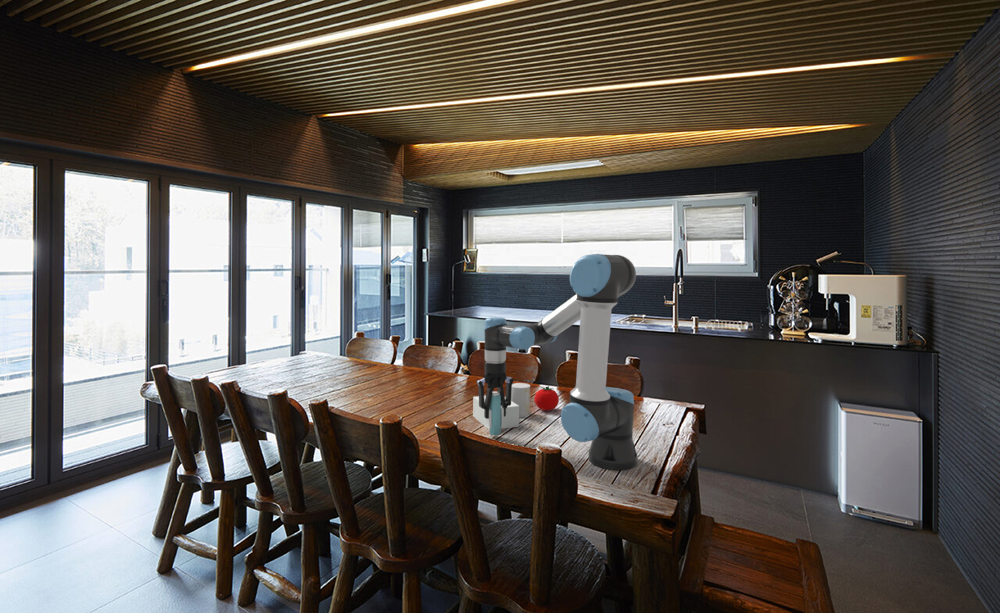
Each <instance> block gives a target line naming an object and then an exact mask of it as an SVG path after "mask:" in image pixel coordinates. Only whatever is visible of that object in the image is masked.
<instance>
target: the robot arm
mask: <svg viewBox="0 0 1000 613" xmlns="http://www.w3.org/2000/svg"><path fill="white" fill-rule="evenodd" d="M636 278H637V271H636V268H635V266H634V264H633V262H632V261H631V260H630V259H629V258H627V257H626V256H624V255H620V254H602V253H601V254H600V253H592V254H586V255H583V256H581V257H580V258H578V259H577V260H576V261H575V263H573V265H572V267H571V270H570V273H569V283H570V287H571V288H572V290H573V292H574V293H575V295H573V296H572V297H570V298H569V299H568V300H567V301H565V302H564V303H562V304H561V305H559V306H558V307H556V309H554V310H553V311H551V312H550V313H549V314H547V315H545V316H544V317H543V318H542V319H541V320H539V321H538V322H536V323H528V324H519V325H514V324H513V325H511V324H507V320H506V318H505V317H500V316H499V317H498V316H497V317H496V316H494V317H492V316H491V317H487V318H486V319H484V320H485V321H484V328H483V330H484V361H485V362H484V376H483V378H481V379H477V380H476V384H477V386H478V388H477V390H478V396H479V407H481V408H482V409H484V417H485V418H486V419H487V427H488V428H491V427H492V410H491V409H490V403H491V398H492V393H493V392H494V391H495V388H496V389H497V392H500V395H501V427H504V417H505V416H506V408H507V406H510V405H511V394H512V384H514V378H512V377H510V376H508V375H507V374H506V373H507V362H506V360H507V348H512V349H517V350H529V349H530V348H531V347H533V346H539V345H540V346H541V345H547V344H550V343H553V342H555V341H556V340H557V338H558V335H560V334H561V333H562V332H564V331H565V330H567V329H569V327H572V326H573V325H574V324H576V323H577V322H579V333H578V350H577V352H578V353H577V364H576V378H575V380H576V381H575V386H574V388H572V389H571V390H570V392H569V403H566V404H565V406H564V407H562V410H561V412H560V421H561V425H562V427H563V429H564V431H565V432H566V434H567V435H568V436H569V437H570V438H571V439H572V440H575V441H577V442H579V443H586V442H591V445H590V448H589V450H588V456H587V457H588V458H587V459H588V461H589V462H590V463H591V464H592V465H595V466H597V467H599V468H602V469H605V470H606V469H607V470H611V471H612V470H614V471H615V470H616V471H625V470H626V471H627V470H630V469H633V468H635V467H637V465H638V453H637V449H636V447H635V443H634V439H633V438H634V437H633V435H634V433H633V431H634V430H633V429H634V413H635V412H634V411H635V399H634V398H635V397H634V394H633V392H631V391H630V390H627V389H625V388H623V389H622V388H618V387H609V386H606V385H607V373H608V362H609V361H608V358H609V349H610V348H609V346H610V335H611V320H612V319H611V318H612V309H613V308H614V307H615V306H617V304H618V299H619V297H621V296H623V295H624V294H626V293H628V292H629V291H630V290H631V288H632V287H633V286H634V284H635V282H636ZM504 383H505V392H504ZM485 384H486V385H487V386H486V393H485ZM484 396H486V398H485V400H484ZM505 397H506V398H505Z"/></svg>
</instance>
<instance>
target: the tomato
mask: <svg viewBox="0 0 1000 613" xmlns="http://www.w3.org/2000/svg"><path fill="white" fill-rule="evenodd" d="M559 401H560V396H559V394H558V393H557V392H556V390H554V387H551V388H550V386H549V385H548V386H545V387H542V386H540V389H538V390H537V391H536V393H535V394H534V404H535V405H536V406H537V408H538V409H539V410H541V411H547V412H548V411H552V410H554V409H556V407H558V405H559Z"/></svg>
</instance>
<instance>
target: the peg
mask: <svg viewBox="0 0 1000 613" xmlns="http://www.w3.org/2000/svg"><path fill="white" fill-rule="evenodd" d="M490 409H491V410H492V427H491V428H490V430H489V434H490V435H491V436H499V435H501V433H502V429H501V395H500V392H498V391H493V393H492V398H491V403H490Z"/></svg>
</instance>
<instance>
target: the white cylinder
mask: <svg viewBox="0 0 1000 613" xmlns="http://www.w3.org/2000/svg"><path fill="white" fill-rule="evenodd" d="M511 401H512V402H514V403H515V404H517V405H519V418H526V417H529V416H530V414H531V413H530V412H531V410H530V408H531V406H530V404H531V385H530V384H529V383H525V382H524V383H523V382H516V383H514V382H513V383H512V394H511Z"/></svg>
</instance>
